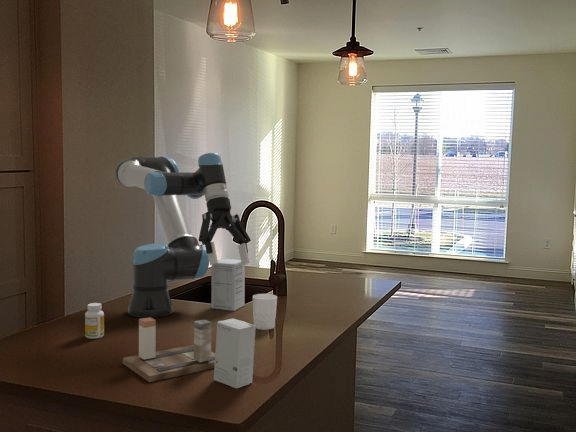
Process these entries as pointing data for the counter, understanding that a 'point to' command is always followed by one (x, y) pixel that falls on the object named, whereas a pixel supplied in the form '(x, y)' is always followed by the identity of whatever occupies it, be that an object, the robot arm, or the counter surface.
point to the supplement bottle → (94, 321)
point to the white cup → (264, 311)
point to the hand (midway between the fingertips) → (230, 264)
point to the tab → (147, 338)
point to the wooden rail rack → (177, 357)
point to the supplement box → (228, 284)
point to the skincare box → (234, 352)
